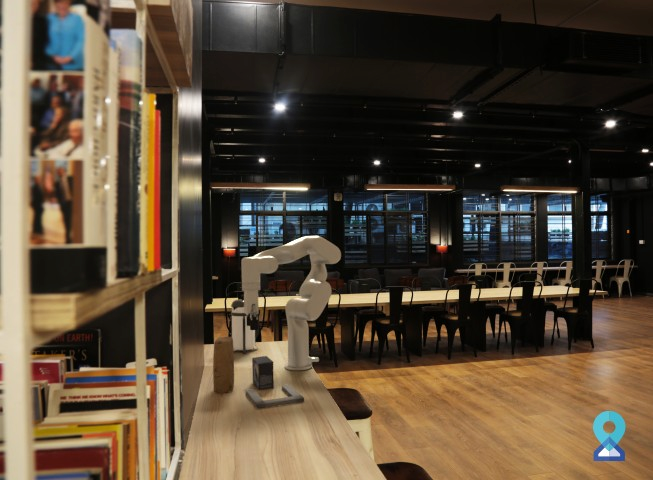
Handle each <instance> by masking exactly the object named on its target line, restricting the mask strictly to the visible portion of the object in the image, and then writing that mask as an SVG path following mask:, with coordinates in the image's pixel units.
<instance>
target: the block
mask: <svg viewBox="0 0 653 480" xmlns="http://www.w3.org/2000/svg"><path fill="white" fill-rule="evenodd" d="M234 350H235V349H233V338H232V336H222V337H221V336H219V337H217V338H216V339H215V341H214V344H213V354H212V355H213V356H212V357H213V359H212V360H213V362H212V367H213V368H212V375H213V377H212V380H213V382H212V383H213V391H214V392H215V393H219V394H226V393H230V392H232V391H234V388H235V387H234V386H235V351H234Z"/></svg>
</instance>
